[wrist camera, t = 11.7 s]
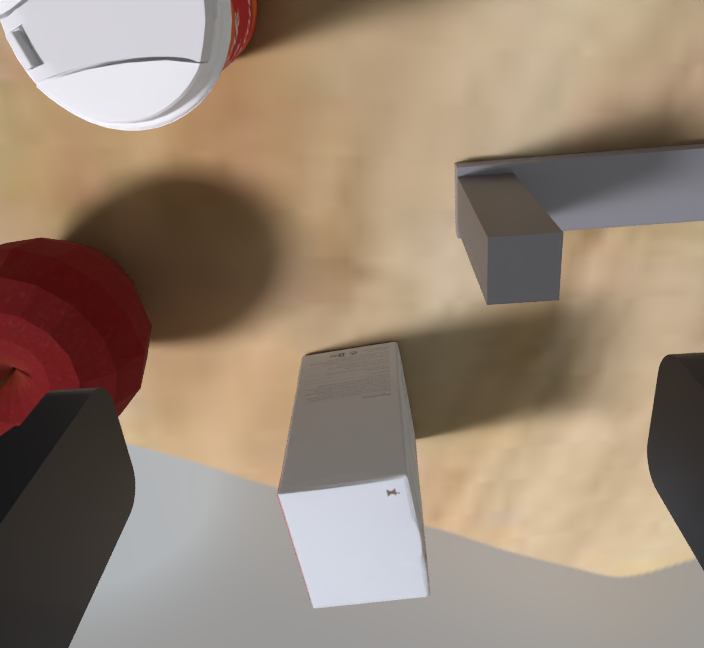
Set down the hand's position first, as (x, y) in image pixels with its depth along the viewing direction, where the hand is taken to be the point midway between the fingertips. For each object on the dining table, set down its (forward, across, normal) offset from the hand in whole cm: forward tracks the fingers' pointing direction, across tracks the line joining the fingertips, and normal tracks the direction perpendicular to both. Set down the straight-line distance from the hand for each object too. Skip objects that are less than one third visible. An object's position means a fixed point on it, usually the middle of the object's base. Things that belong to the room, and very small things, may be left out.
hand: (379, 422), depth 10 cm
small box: (+28, +2, +18) cm, 34 cm away
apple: (+28, +18, +9) cm, 35 cm away
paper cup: (+28, +8, -6) cm, 30 cm away
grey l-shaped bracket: (+28, -13, +5) cm, 32 cm away
